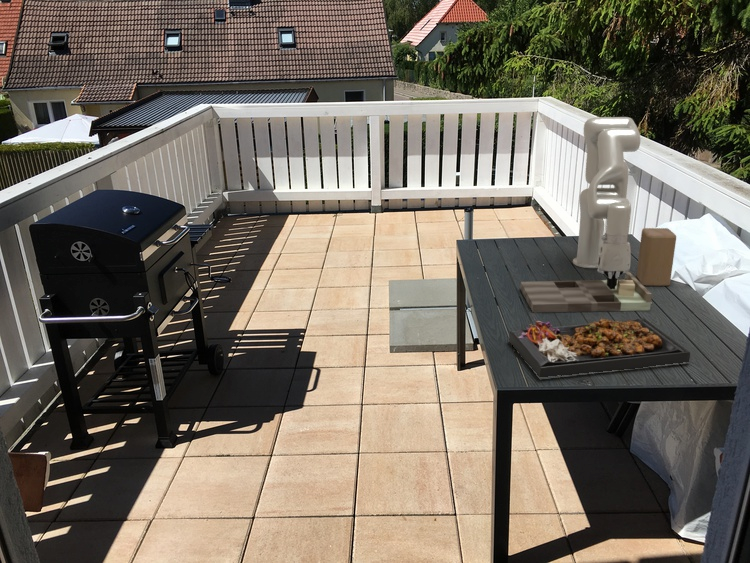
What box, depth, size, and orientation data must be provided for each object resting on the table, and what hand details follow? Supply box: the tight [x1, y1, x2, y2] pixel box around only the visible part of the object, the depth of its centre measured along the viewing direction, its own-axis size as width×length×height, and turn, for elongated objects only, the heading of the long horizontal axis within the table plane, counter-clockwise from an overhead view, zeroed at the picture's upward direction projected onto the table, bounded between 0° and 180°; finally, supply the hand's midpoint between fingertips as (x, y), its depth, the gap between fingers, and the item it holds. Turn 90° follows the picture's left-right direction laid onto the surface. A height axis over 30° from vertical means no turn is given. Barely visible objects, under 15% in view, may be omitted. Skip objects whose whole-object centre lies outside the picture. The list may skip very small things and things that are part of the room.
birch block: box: [617, 279, 635, 296], centre depth 231 cm, size 5×5×4 cm
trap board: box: [520, 271, 653, 313], centre depth 235 cm, size 22×40×6 cm, turn 89°
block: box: [636, 227, 677, 287], centre depth 246 cm, size 10×10×20 cm
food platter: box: [508, 313, 691, 377], centre depth 195 cm, size 45×25×10 cm, turn 99°
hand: (611, 287), depth 234 cm, fingers closed
